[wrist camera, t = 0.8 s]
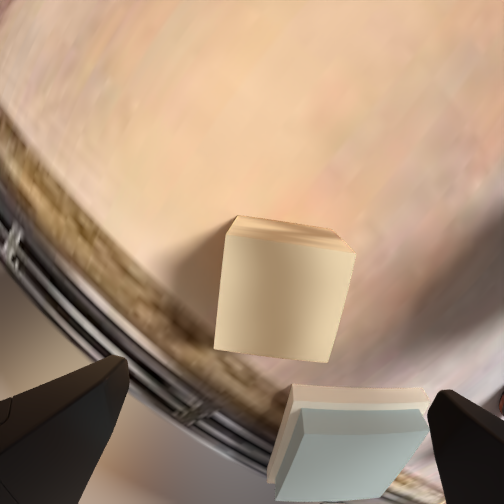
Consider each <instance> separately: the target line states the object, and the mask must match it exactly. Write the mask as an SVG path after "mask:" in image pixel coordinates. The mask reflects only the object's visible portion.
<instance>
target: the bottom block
mask: <svg viewBox="0 0 504 504" xmlns="http://www.w3.org/2000/svg"><path fill="white" fill-rule="evenodd" d="M430 402H431V401H430V399H429V398H428V396H427V394H426V393H425V391H424V389H423V388H350V387H329V386H314V385H301V384H292V386H291V390H290V394H289V397H288V401H287V404H286V408H285V411H284V415H283V418H282V422H281V425H280V428H279V432H278V435H277V438H276V442H275V445H274V448H273V451H272V454H271V457H270V461H269V464H268V467H267V483H274V484H275V478H276V476H277V473H278V471H279V468H280V466H281V463H282V461H283V458H284V455H285V453H286V450H287V448H288V445H289V442H290V439H291V437H292V434H293V431H294V428H295V425H296V423H297V420H298V417H299V414H300V411H301V408H308V409H326V410H407V409H419V410H420V412H421V414H422V416H423V414H424V413H425V411H426V409H427V407H428V405H429V404H430Z"/></svg>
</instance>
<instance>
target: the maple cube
mask: <svg viewBox="0 0 504 504" xmlns="http://www.w3.org/2000/svg"><path fill="white" fill-rule="evenodd" d="M355 258H356V253H355V252H354V251H353V250H352V249H351V248H350V247H349V246H348V245H347V244H346V243H345V242H344V241H343V240H342V239H341V238H340V237H339V236H338V235H337V234H336V233H335V232H334V231H333V230H332V229H328V228H322V227H315V226H309V225H302V224H296V223H289V222H283V221H276V220H269V219H262V218H255V217H248V216H241V215H238V216H237V218H236V219H235V221H234V222H233V224H232V225H231V227H230V229H229V230H228V232H227V233H226V236H225V245H224V254H223V262H222V271H221V281H220V290H219V299H218V309H217V319H216V329H215V339H214V349H217V350H223V351H230V352H236V353H243V354H250V355H258V356H265V357H274V358H282V359H291V360H301V361H312V362H324V363H328V360H329V357H330V354H331V351H332V347H333V344H334V340H335V337H336V333H337V330H338V326H339V323H340V319H341V315H342V312H343V308H344V304H345V300H346V296H347V292H348V288H349V284H350V280H351V276H352V271H353V267H354V263H355Z"/></svg>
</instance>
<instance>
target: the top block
mask: <svg viewBox="0 0 504 504" xmlns="http://www.w3.org/2000/svg"><path fill="white" fill-rule="evenodd" d="M429 431H430V429H429V427H428V425H427V423H426V421H425V420H424V418H423V416H422V414H421V412H420V410H419V409H407V410H326V409H308V408H301V411H300V414H299V417H298V420H297V423H296V425H295V428H294V431H293V434H292V437H291V439H290V442H289V445H288V448H287V450H286V453H285V455H284V458H283V461H282V463H281V466H280V468H279V471H278V473H277V476H276V478H275V501H292V502H323V501H345V500H359V499H369V498H378V497H380V496H381V495H382V494H383V493H384V492H385V490H386V489H387V488H388V487H389V486H390V484H391V483H392V482H393V481H394V479H395V478H396V477H397V476H398V474H399V473H400V472H401V470H402V469H403V468H404V467H405V465H406V464H407V462H408V461H409V460H410V458H411V457H412V456H413V454H414V453H415V451H416V450H417V449H418V447H419V446H420V444H421V443H422V441H423V440H424V438H425V437H426V435H427V434H428V432H429Z"/></svg>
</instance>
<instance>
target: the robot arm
mask: <svg viewBox="0 0 504 504" xmlns="http://www.w3.org/2000/svg"><path fill="white" fill-rule="evenodd" d="M129 383H130V381H129V371H128V362H127V360H126V359H125V358H124V357H120V356H116V355H111V356H108V357H106V358H104V359H102V360H99V361H97V362H95V363H92V364H90V365H88V366H85V367H83V368H81V369H78V370H76V371H74V372H72V373H69V374H67V375H64V376H62V377H60V378H57V379H55V380H52V381H50V382H47V383H45V384H42V385H40V386H38V387H35V388H33V389H30V390H28V391H25V392H23V393H20V394H18V395H15V396H13V398H11V397H10V398H7V399H5V400H2V401H0V504H78V502H79V500H80V498H81V496H82V494H83V491H84V490H85V487H86V485H87V483H88V481H89V479H90V477H91V475H92V473H93V471H94V469H95V467H96V465H97V463H98V461H99V459H100V457H101V455H102V453H103V451H104V448H105V447H106V445H107V443H108V441H109V439H110V437H111V434H112V432H113V430H114V427H115V425H116V422H117V419H118V416H119V413H120V411H121V408H122V405H123V403H124V400H125V397H126V394H127V392H128V389H129ZM427 418H428V423H429V428H430V433H431V439H432V444H433V450H434V455H435V460H436V464H437V467H438V471H439V475H440V479H441V483H442V487H443V491H444V495H445V499H446V504H504V421H503V420H502V419H500V418H498V417H497V416H495V415H493V414H492V413H490V412H488V411H487V410H485V409H483V408H481V407H480V406H478V405H476V404H475V403H473V402H471V401H470V400H468V399H466V398H465V397H463V396H461V395H460V394H458V393H456V392H455V391H453V390H441V391H439V392H438V393H437V395H436V397H435V399H434V401H433V403H432V404H431V406H430V408H429V410H428V414H427Z"/></svg>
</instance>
